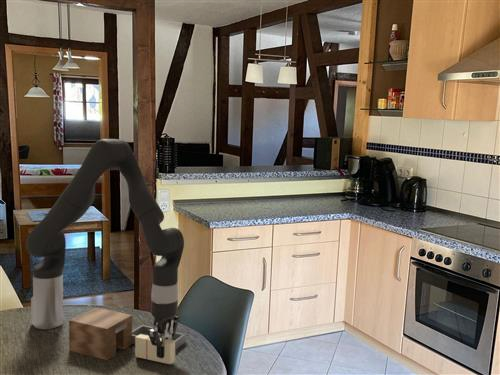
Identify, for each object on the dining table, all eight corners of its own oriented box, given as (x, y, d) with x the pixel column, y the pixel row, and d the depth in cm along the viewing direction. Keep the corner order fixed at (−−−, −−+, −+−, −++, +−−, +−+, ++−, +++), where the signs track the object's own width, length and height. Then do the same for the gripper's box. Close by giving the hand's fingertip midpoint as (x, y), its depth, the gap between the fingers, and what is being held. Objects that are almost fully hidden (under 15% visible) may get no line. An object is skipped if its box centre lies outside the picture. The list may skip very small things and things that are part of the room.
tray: (126, 342, 154) (126, 334, 154) (142, 332, 162) (142, 324, 162) (171, 353, 148) (171, 344, 148) (185, 342, 156) (185, 334, 155)
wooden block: (69, 350, 147) (69, 320, 146) (95, 335, 158) (95, 307, 157) (108, 360, 142) (108, 329, 141) (133, 344, 153) (133, 315, 152)
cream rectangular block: (135, 356, 144) (135, 337, 143) (140, 353, 146) (140, 333, 146) (170, 364, 139) (170, 344, 139) (175, 360, 142) (175, 340, 141)
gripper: (166, 288, 147) (165, 343, 149) (139, 303, 134) (138, 362, 137) (188, 293, 144) (186, 348, 147) (162, 308, 132) (161, 368, 134)
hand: (163, 355), depth 142 cm, fingers closed on cream rectangular block, 2 cm apart
